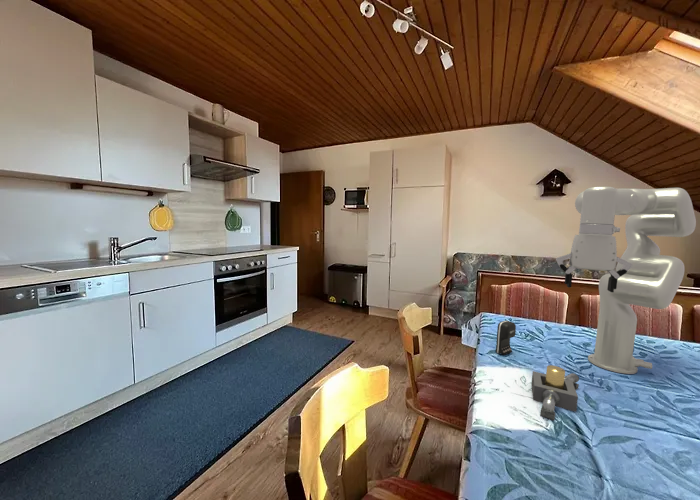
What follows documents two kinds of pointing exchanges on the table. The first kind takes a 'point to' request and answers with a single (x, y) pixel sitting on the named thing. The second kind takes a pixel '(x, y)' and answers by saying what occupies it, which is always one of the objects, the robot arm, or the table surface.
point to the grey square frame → (566, 395)
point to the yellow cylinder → (555, 377)
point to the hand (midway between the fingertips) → (589, 289)
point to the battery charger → (505, 337)
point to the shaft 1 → (549, 403)
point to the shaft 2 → (573, 379)
